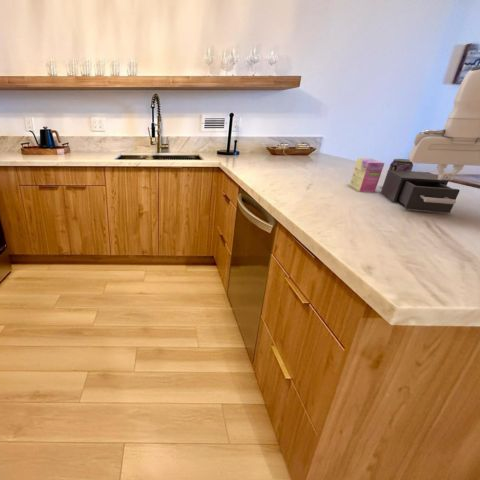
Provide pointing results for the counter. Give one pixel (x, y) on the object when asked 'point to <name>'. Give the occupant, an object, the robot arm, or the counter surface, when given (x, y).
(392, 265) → the counter surface
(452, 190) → the basket
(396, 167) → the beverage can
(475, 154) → the robot arm
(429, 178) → the fryer
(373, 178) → the box
